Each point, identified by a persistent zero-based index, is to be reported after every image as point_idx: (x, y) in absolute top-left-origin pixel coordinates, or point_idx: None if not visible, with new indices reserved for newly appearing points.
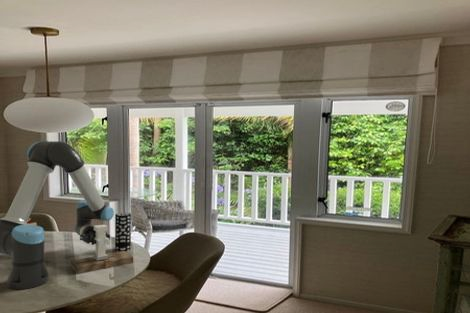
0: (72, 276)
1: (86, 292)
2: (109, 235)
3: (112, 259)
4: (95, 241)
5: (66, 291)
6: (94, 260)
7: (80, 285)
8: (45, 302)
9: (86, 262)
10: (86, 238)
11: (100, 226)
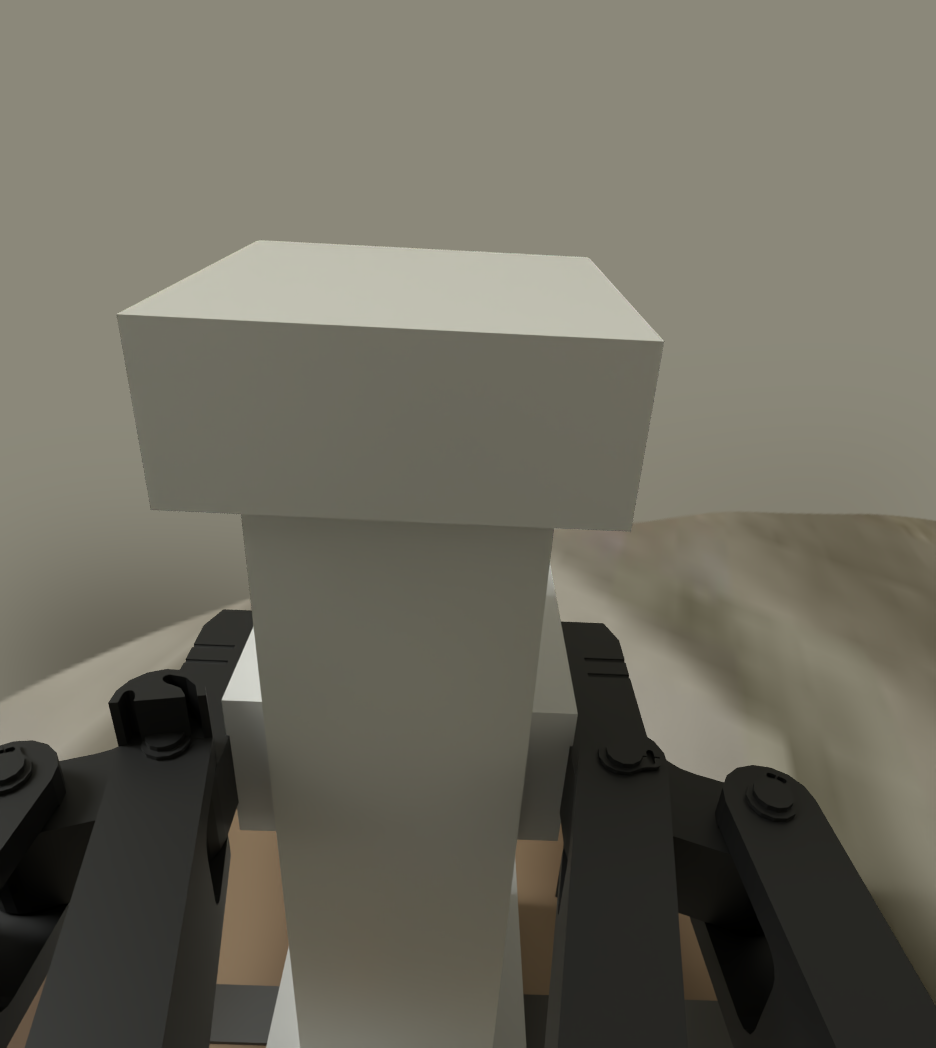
0: (849, 842)
1: (688, 538)
2: (14, 744)
3: (257, 850)
4: (574, 638)
5: (829, 595)
6: (536, 992)
7: (733, 624)
8: (927, 547)
9: (691, 966)
10: (856, 893)
11: (444, 269)
